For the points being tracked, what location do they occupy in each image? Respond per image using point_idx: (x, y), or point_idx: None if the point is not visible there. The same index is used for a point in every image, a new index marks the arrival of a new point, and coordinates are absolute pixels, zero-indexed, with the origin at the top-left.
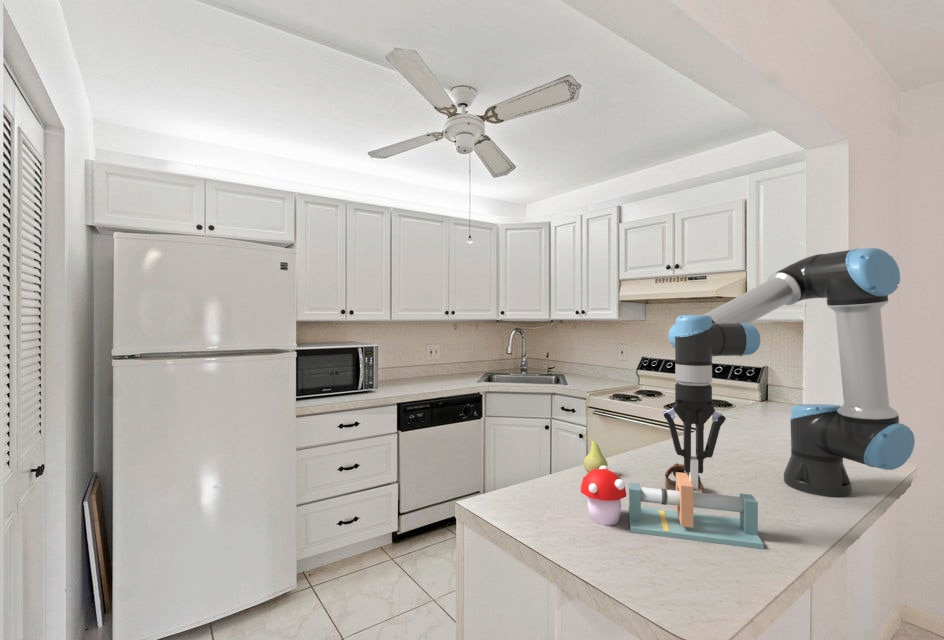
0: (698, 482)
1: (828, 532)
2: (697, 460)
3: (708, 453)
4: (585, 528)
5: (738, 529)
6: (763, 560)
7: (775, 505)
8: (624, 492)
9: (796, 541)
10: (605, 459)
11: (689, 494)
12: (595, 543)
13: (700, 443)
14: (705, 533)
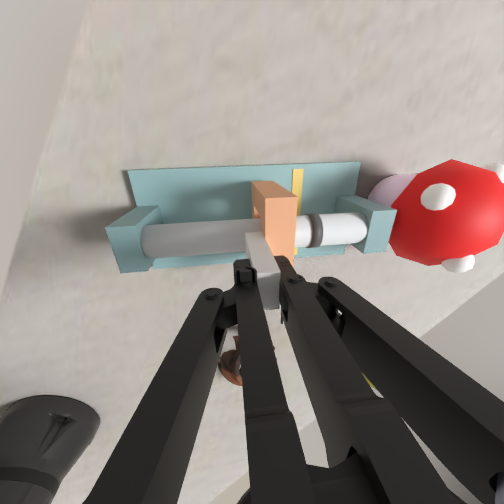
0: (221, 364)
1: (27, 277)
2: (257, 272)
3: (215, 297)
4: (432, 149)
5: (169, 221)
6: (132, 117)
7: (111, 343)
8: (404, 202)
9: (76, 223)
10: (366, 378)
11: (270, 193)
12: (432, 85)
13: (253, 327)
14: (229, 182)
